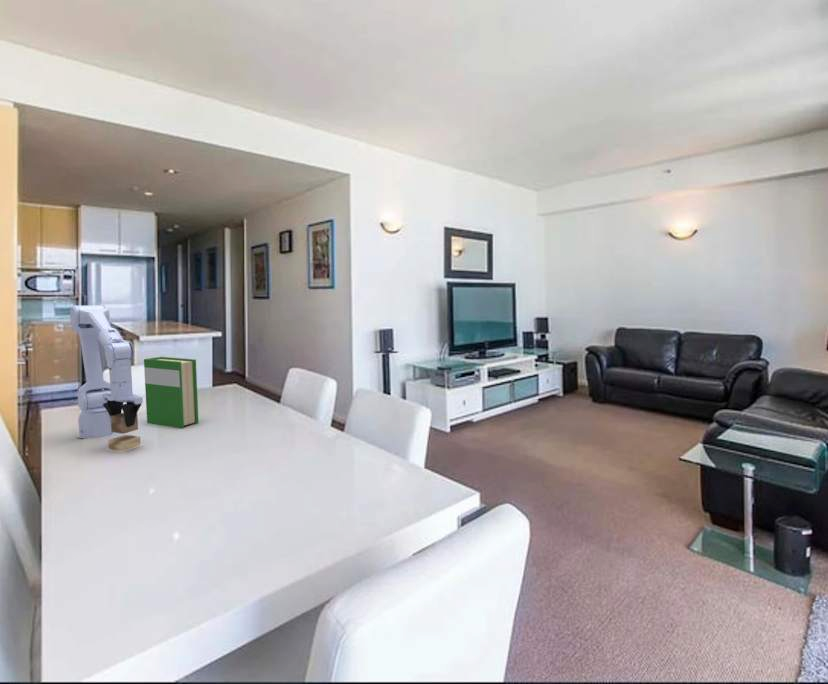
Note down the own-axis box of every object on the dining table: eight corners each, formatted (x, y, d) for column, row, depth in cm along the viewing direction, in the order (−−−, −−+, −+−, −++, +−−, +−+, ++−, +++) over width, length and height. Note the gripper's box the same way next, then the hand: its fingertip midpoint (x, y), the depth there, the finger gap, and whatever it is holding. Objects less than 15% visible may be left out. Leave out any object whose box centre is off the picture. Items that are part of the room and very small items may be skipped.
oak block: (108, 448, 146) (108, 440, 146) (126, 443, 151) (125, 434, 151) (123, 451, 144) (122, 442, 144) (140, 445, 149) (140, 436, 149)
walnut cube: (111, 432, 146) (110, 416, 145) (126, 427, 151) (125, 412, 150) (123, 433, 144) (122, 417, 144) (138, 429, 149) (137, 413, 148)
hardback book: (198, 423, 177) (195, 359, 175) (181, 428, 170) (178, 362, 168) (164, 418, 184) (161, 356, 182) (147, 423, 177) (143, 359, 175)
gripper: (91, 382, 144) (94, 426, 146) (126, 385, 139) (129, 430, 141) (112, 378, 151) (115, 420, 152) (147, 381, 146) (149, 424, 147)
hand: (123, 425), depth 147 cm, fingers closed on walnut cube, 5 cm apart
